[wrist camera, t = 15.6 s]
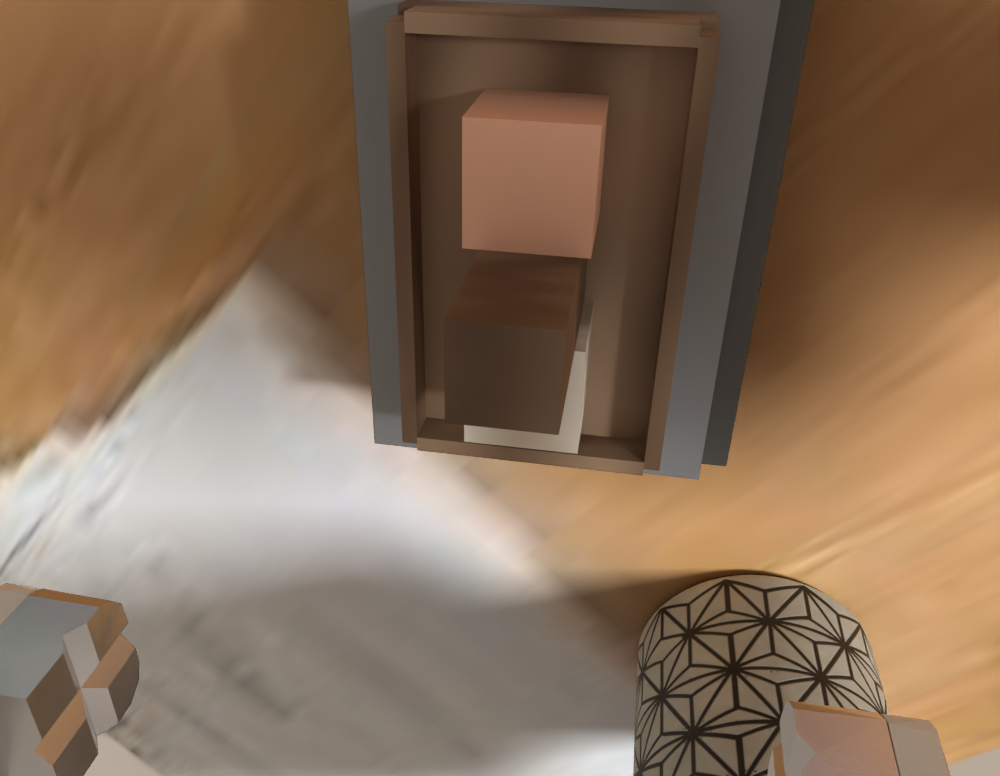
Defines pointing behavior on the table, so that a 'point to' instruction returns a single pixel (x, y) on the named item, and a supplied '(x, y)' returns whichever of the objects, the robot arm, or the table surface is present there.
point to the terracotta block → (533, 171)
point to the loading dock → (717, 230)
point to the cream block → (572, 408)
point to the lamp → (742, 673)
